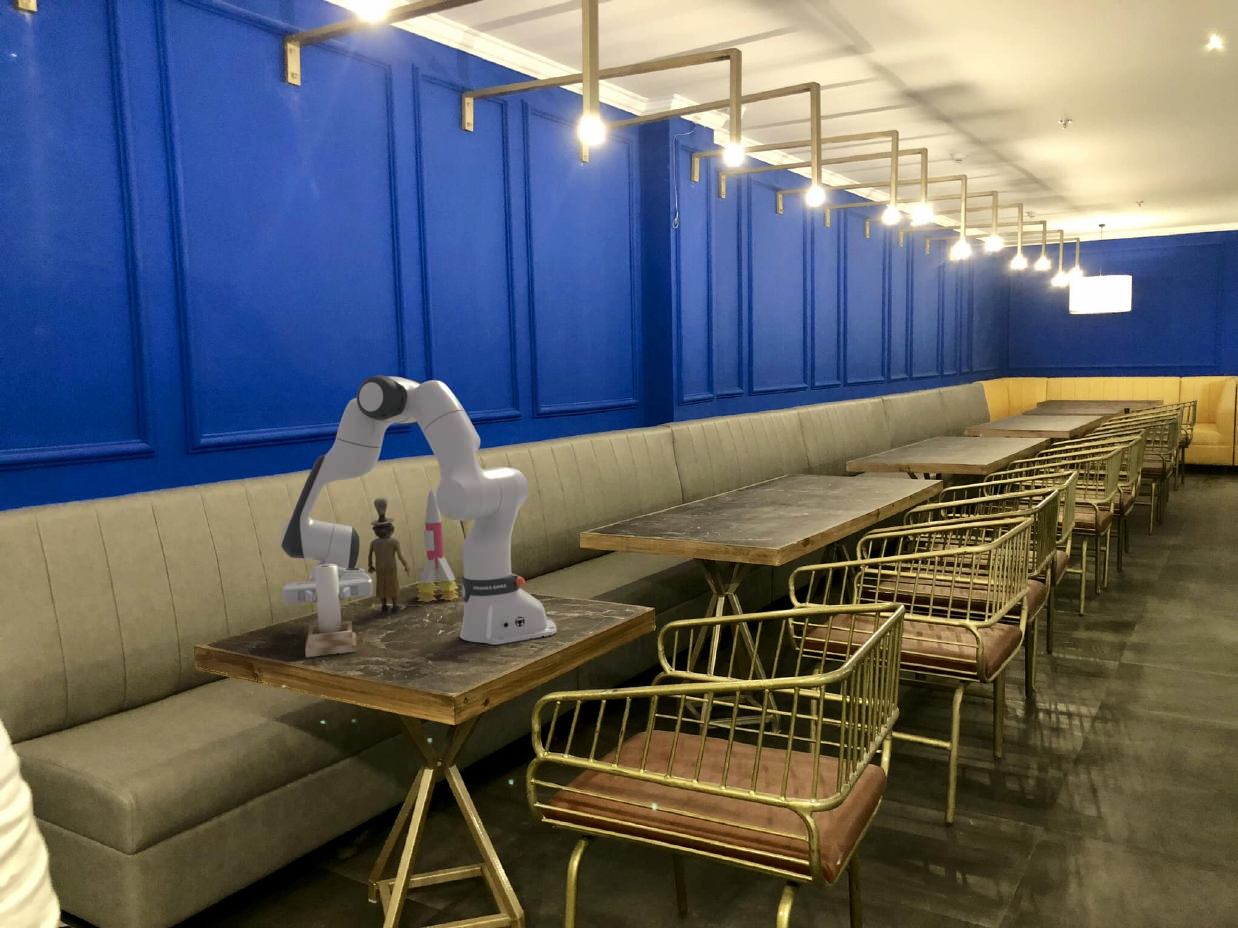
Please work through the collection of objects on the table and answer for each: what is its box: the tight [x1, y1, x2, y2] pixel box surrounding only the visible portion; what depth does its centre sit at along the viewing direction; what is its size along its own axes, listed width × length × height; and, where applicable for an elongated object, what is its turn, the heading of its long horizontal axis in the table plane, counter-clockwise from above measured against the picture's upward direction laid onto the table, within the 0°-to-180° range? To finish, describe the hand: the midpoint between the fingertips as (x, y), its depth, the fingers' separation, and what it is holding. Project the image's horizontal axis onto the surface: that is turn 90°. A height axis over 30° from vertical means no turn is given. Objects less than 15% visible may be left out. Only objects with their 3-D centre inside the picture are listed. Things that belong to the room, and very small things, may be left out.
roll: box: [313, 564, 342, 634], centre depth 225 cm, size 5×5×16 cm
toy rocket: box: [416, 488, 459, 603], centre depth 271 cm, size 12×12×30 cm
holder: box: [304, 620, 358, 658], centre depth 226 cm, size 11×11×4 cm
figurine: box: [367, 497, 411, 614], centre depth 258 cm, size 11×9×30 cm
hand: (328, 597), depth 224 cm, fingers closed on roll, 5 cm apart
